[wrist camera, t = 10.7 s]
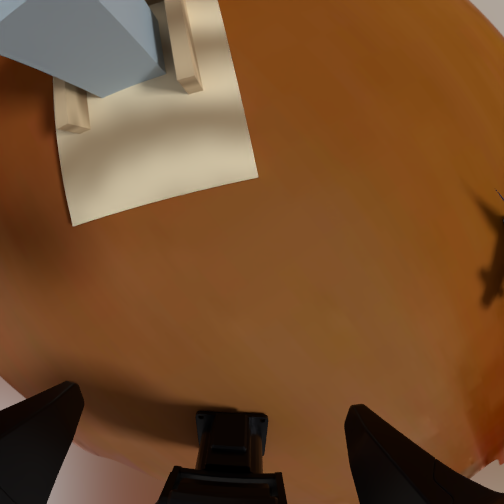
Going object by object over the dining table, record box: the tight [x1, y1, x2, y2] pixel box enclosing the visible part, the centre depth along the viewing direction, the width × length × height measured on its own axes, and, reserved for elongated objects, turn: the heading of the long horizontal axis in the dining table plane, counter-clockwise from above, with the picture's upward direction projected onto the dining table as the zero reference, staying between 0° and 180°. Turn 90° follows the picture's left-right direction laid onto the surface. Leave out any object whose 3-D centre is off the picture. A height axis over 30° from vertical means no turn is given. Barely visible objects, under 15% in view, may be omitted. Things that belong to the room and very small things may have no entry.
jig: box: [53, 0, 258, 226], centre depth 15 cm, size 22×14×4 cm, turn 12°
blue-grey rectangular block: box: [0, 0, 166, 98], centre depth 10 cm, size 5×5×13 cm
